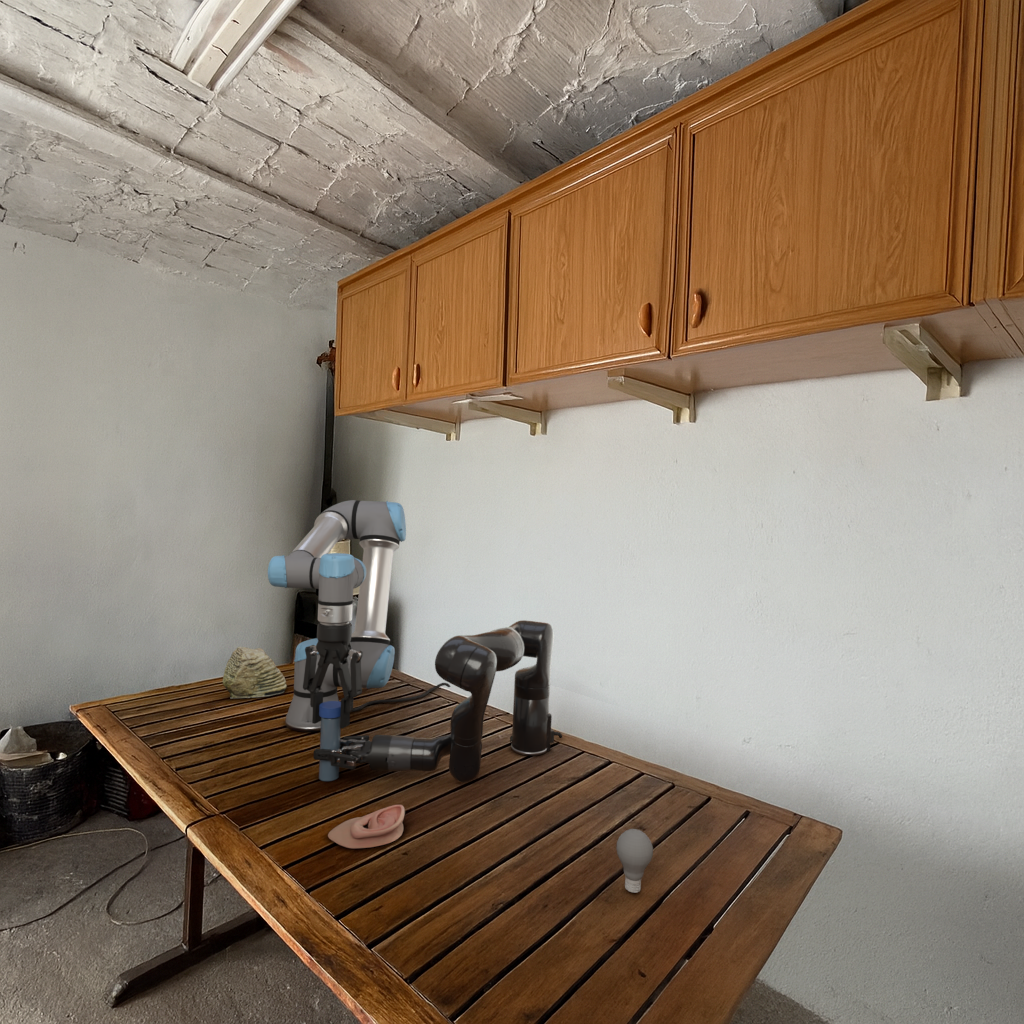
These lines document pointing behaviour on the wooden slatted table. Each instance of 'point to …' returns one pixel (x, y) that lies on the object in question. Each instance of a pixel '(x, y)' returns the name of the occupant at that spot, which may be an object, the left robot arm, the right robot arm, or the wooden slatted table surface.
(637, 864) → the light bulb
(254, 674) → the fossil
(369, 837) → the anatomical model
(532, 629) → the right robot arm
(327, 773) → the jar
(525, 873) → the wooden slatted table surface
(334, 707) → the lid
